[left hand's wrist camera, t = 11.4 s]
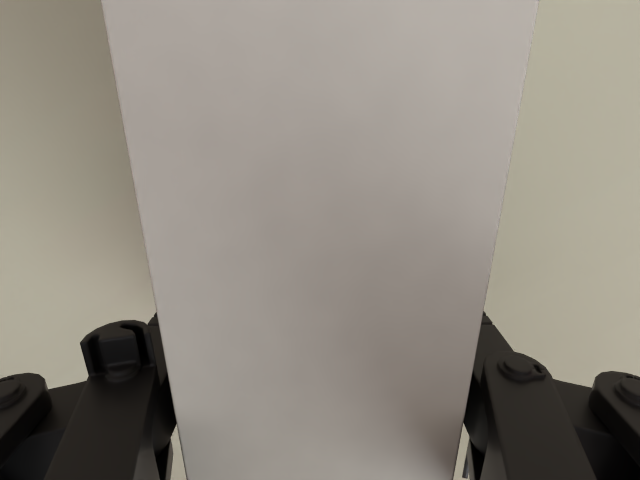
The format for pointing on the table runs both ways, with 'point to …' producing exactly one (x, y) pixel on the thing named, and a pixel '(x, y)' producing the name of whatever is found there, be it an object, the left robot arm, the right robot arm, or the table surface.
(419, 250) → the bar
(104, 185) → the table surface
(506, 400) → the left robot arm
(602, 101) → the table surface
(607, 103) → the table surface
